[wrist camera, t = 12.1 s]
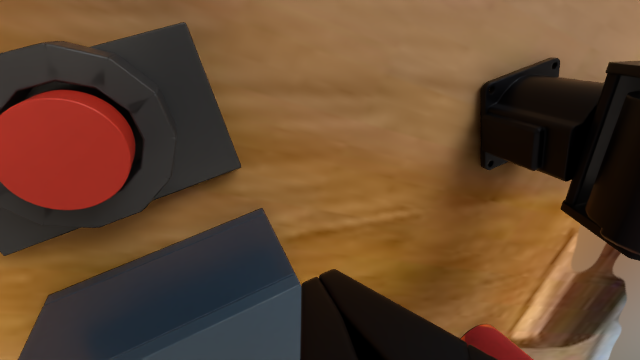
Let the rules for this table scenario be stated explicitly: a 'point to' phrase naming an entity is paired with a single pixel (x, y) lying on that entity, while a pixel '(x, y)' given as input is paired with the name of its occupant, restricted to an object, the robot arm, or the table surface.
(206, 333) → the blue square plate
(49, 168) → the red button
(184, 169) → the push button switch
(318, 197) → the table surface
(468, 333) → the paper cup
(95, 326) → the storage box
